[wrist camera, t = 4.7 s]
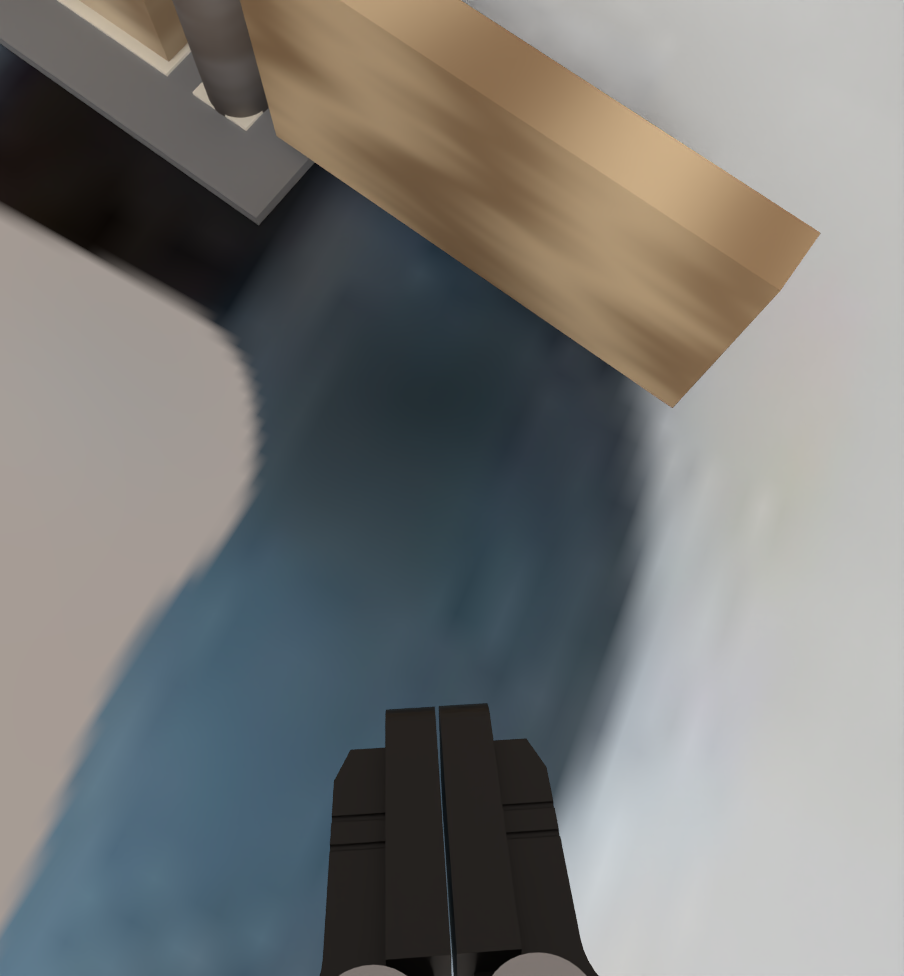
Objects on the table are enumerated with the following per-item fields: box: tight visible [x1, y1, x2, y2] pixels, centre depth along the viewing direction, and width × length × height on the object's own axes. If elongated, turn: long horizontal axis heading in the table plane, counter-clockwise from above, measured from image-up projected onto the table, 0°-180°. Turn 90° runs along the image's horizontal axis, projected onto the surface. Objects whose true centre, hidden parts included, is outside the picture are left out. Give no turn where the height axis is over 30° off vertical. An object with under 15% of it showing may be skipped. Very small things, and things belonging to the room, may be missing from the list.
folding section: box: [240, 0, 820, 408], centre depth 20 cm, size 14×2×7 cm, turn 54°
